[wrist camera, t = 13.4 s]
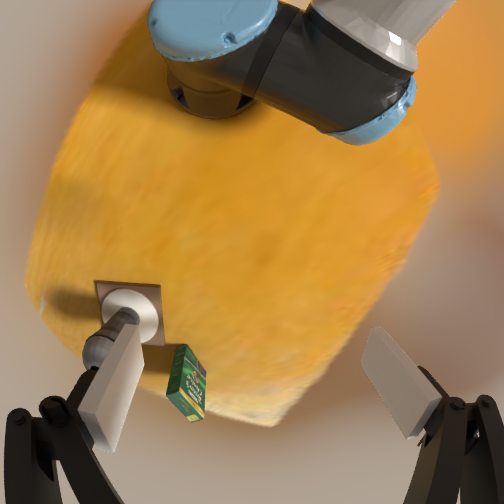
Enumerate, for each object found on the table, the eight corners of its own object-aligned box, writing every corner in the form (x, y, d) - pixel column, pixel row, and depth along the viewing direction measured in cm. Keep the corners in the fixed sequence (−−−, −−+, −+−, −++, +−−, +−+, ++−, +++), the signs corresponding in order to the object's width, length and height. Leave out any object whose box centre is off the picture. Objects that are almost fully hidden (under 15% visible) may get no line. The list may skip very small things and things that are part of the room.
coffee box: (208, 372, 52) (205, 420, 40) (196, 376, 53) (190, 424, 40) (188, 343, 50) (179, 390, 38) (175, 348, 50) (163, 394, 38)
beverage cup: (129, 292, 44) (79, 363, 25) (155, 324, 46) (122, 405, 27) (102, 311, 45) (51, 380, 26) (127, 341, 47) (90, 417, 28)
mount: (99, 280, 45) (94, 284, 44) (160, 285, 47) (158, 289, 45) (108, 336, 49) (105, 341, 47) (165, 342, 50) (163, 348, 48)
